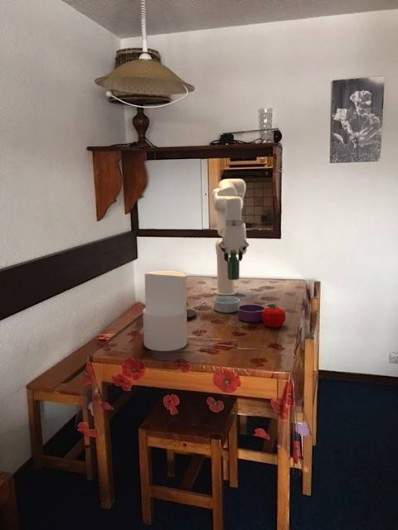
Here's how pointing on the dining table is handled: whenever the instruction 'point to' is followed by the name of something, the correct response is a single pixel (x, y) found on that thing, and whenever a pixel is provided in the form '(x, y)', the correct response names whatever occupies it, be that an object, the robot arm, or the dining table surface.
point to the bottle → (233, 266)
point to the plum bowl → (250, 312)
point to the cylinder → (165, 310)
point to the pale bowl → (226, 304)
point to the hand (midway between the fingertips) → (233, 260)
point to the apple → (273, 316)
